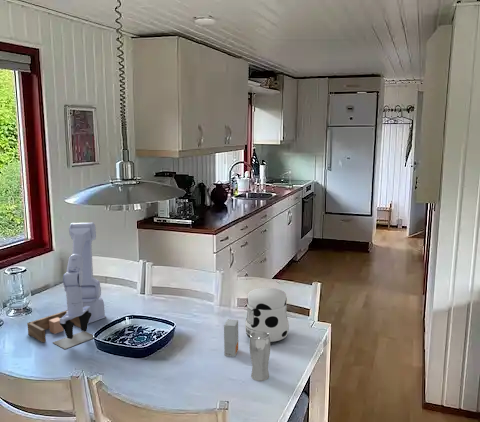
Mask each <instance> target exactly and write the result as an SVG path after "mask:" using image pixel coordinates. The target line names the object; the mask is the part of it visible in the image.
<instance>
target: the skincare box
mask: <svg viewBox="0 0 480 422" xmlns="http://www.w3.org/2000/svg"><path fill="white" fill-rule="evenodd" d="M223 337H224V338H223V342H224V343H223V346H224V347H223V348H224V349H223V350H224V352H223V353H224V356H225V357H235V358H236V356H237V353H238V351H239V320H238V319H230V318H229V319H227V320H226V322H225V323H224V325H223Z"/></svg>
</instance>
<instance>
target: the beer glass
mask: <svg viewBox="0 0 480 422" xmlns="http://www.w3.org/2000/svg"><path fill="white" fill-rule="evenodd" d="M249 354H250V360H251V361H250V362H251V367H252V368H251V374H250V375H251V376H250V377H251V379H252V380H254V381H256V382H264V381H267V380H268V379H269V378H270V373H269V362H270V355H271V343H270V334H269V333H268V332H265V331H254V332H252V333H251V334H250V338H249Z"/></svg>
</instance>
